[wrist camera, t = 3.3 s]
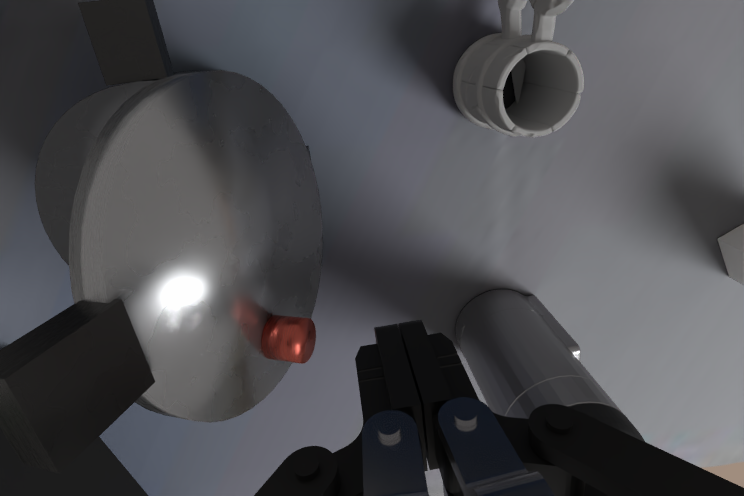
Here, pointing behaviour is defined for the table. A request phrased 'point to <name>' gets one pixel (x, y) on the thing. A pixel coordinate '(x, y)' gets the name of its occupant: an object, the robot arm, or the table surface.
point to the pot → (98, 103)
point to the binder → (67, 475)
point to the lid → (174, 270)
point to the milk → (733, 253)
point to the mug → (520, 74)
